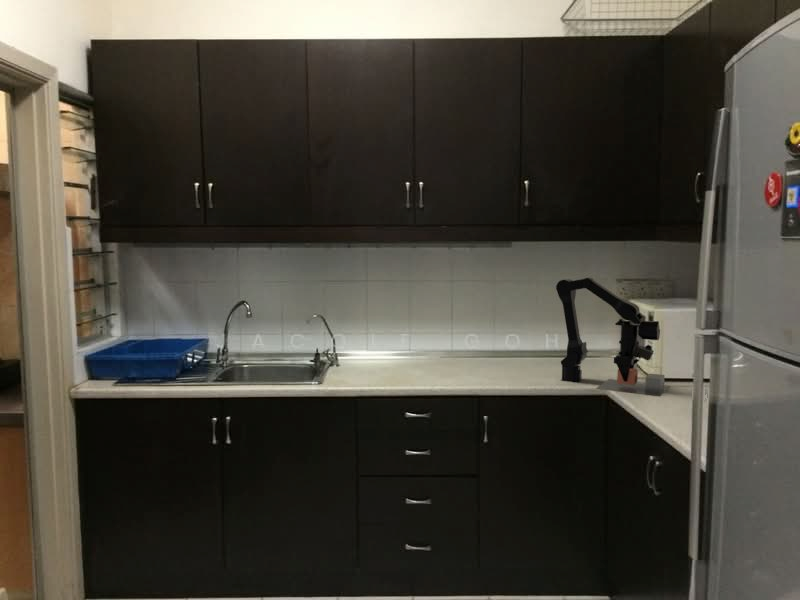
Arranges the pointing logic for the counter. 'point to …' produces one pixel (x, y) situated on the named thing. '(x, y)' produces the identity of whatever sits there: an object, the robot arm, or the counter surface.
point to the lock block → (631, 377)
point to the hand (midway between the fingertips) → (627, 379)
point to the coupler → (638, 386)
